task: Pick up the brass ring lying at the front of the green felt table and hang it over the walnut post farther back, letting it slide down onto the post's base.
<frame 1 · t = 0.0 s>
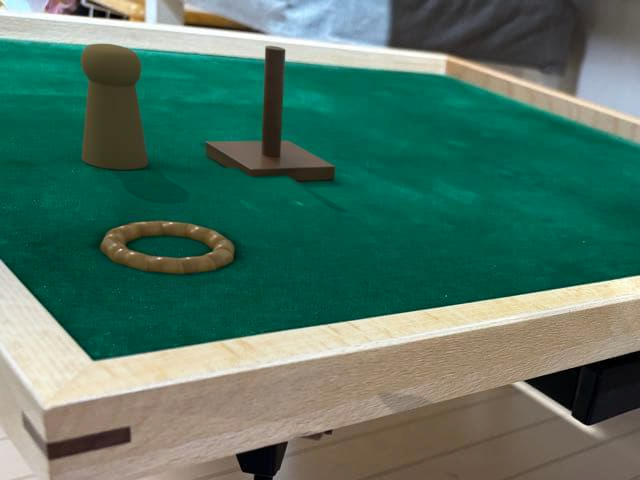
ring: (169, 248, 69), point 1 cm above the table
post: (270, 167, 96), on the table
cork: (115, 162, 88), on the table
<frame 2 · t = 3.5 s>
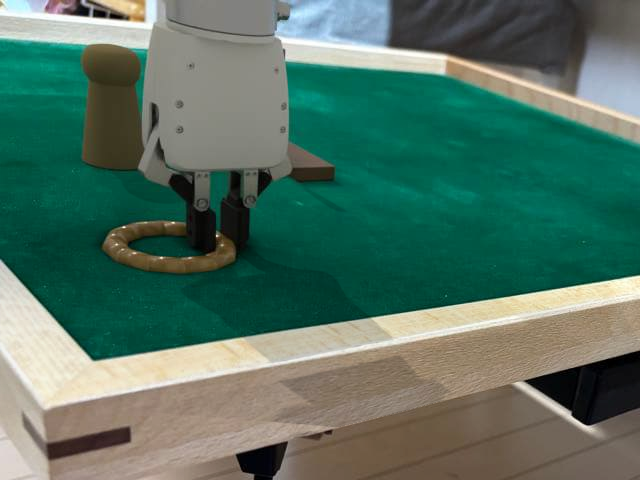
hand: (217, 249, 72), 0 cm above the table, tool pointing down, fingers closed on ring, 2 cm apart
ring: (171, 248, 69), point 1 cm above the table, touching gripper
everything else where it was.
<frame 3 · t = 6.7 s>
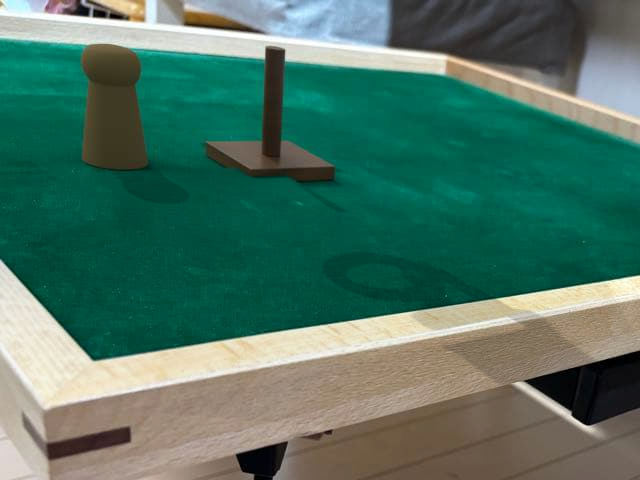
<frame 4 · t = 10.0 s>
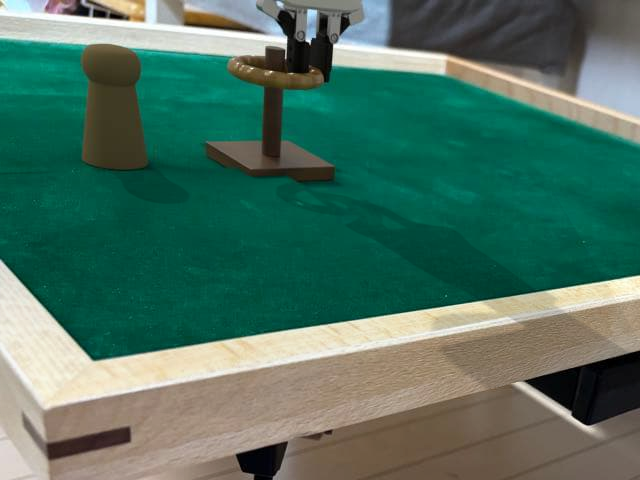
hand: (308, 77, 95), 10 cm above the table, tool pointing down, fingers closed on ring
ring: (276, 72, 92), point 10 cm above the table, touching gripper
everything else where it was.
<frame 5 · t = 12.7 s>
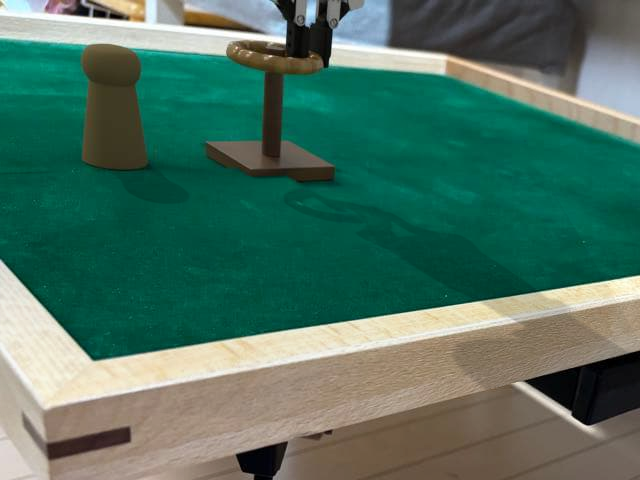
hand: (307, 63, 94), 11 cm above the table, tool pointing down, fingers closed on ring
ring: (275, 57, 91), point 12 cm above the table, touching gripper
everything else where it was.
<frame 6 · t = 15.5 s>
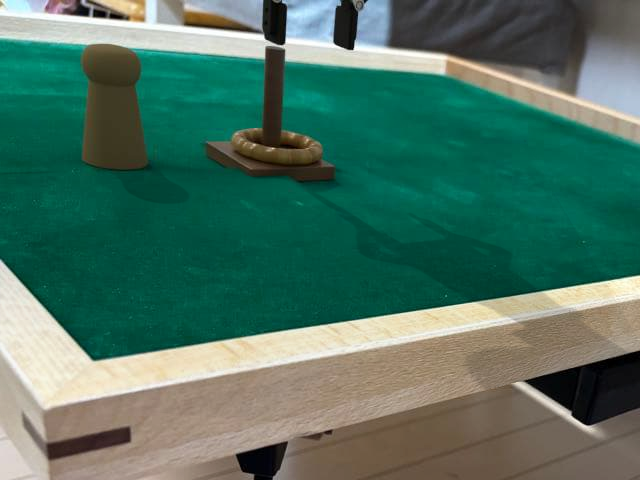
hand: (310, 44, 93), 13 cm above the table, tool pointing down, fingers open, 7 cm apart
ring: (277, 146, 96), point 2 cm above the table, touching post
everything else where it was.
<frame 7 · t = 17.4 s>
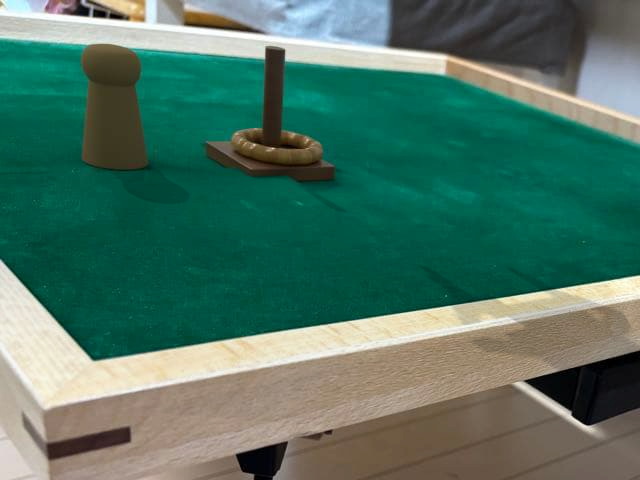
nothing on the table moved.
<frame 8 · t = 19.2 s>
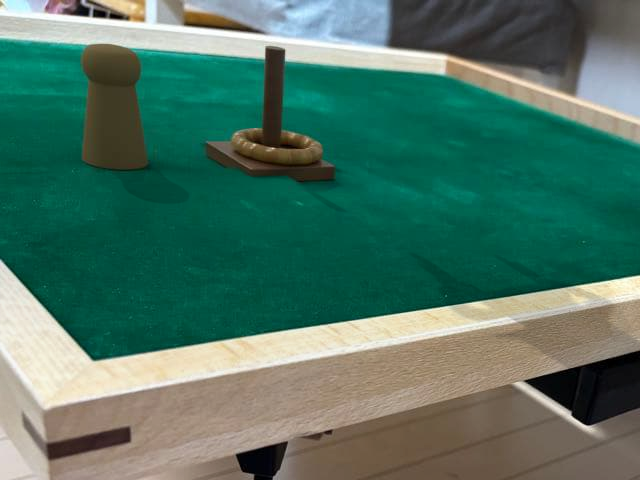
nothing on the table moved.
at the end: ring 0.9 cm from the post (horizontally); ring point 2.3 cm above the table; the gripper is holding nothing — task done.
